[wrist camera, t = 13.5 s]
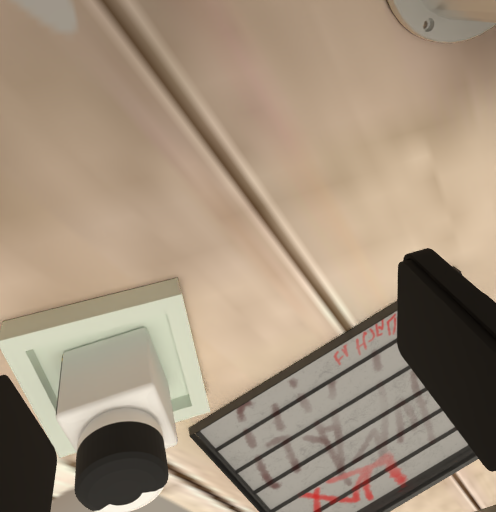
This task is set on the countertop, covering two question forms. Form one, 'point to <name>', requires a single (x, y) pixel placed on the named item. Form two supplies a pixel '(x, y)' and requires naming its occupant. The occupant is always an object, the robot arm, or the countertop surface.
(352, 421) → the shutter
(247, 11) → the countertop surface
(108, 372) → the medicine bottle
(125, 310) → the pale green square tray
